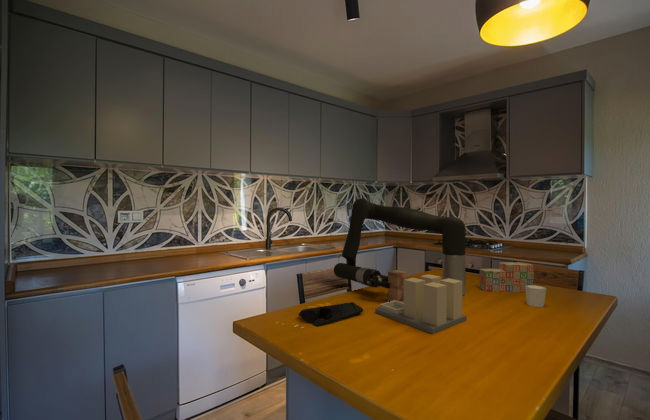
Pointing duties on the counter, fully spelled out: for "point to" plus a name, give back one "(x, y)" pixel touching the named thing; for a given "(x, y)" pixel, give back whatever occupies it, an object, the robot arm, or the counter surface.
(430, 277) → the pillar board
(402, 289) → the terracotta pillar
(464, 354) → the counter surface
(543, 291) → the beige piece
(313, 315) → the dark slate chunk
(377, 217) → the robot arm
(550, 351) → the counter surface
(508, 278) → the stack of blocks
